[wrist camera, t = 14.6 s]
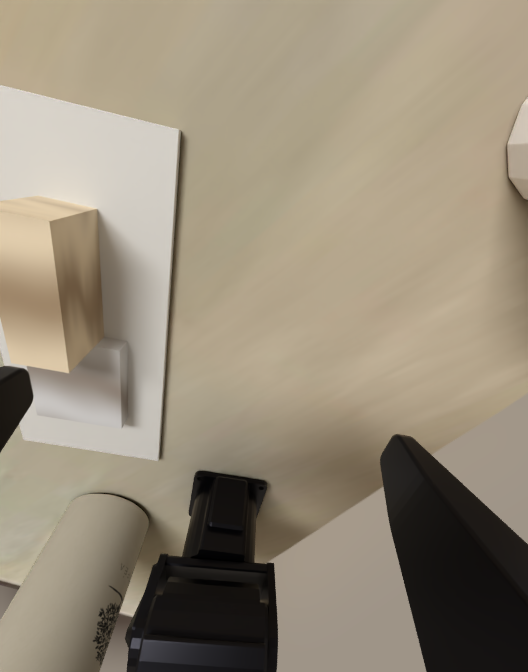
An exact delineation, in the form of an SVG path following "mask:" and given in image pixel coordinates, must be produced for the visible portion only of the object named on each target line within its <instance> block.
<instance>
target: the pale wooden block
mask: <svg viewBox="0 0 528 672" xmlns="http://www.w3.org/2000/svg"><path fill="white" fill-rule="evenodd" d="M0 319H1V323H2V327H3V331H4V336H5V340H6V344H7V348H8V352H9V356H10V360H11V363H13V364H19V365H25V366H27V370H28V372H29V375H30V380H31V385H32V390H33V395H34V397H33V398H34V403H35V408H36V412H37V415H39V416H45V417H51V418H57V419H64V420H70V421H76V422H82V423H88V424H94V425H100V426H106V427H112V428H119V429H122V427H123V426H124V424H125V422H126V420H127V419H128V348H127V341H124V340H119V339H114V338H108V337H104V323H103V305H102V287H101V269H100V251H99V232H98V214H97V209H96V208H92V207H87V206H83V205H78V204H74V203H69V202H65V201H60V200H56V199H51V198H47V197H42V196H32V197H25V198H18V199H11V200H3V201H0Z"/></svg>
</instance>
